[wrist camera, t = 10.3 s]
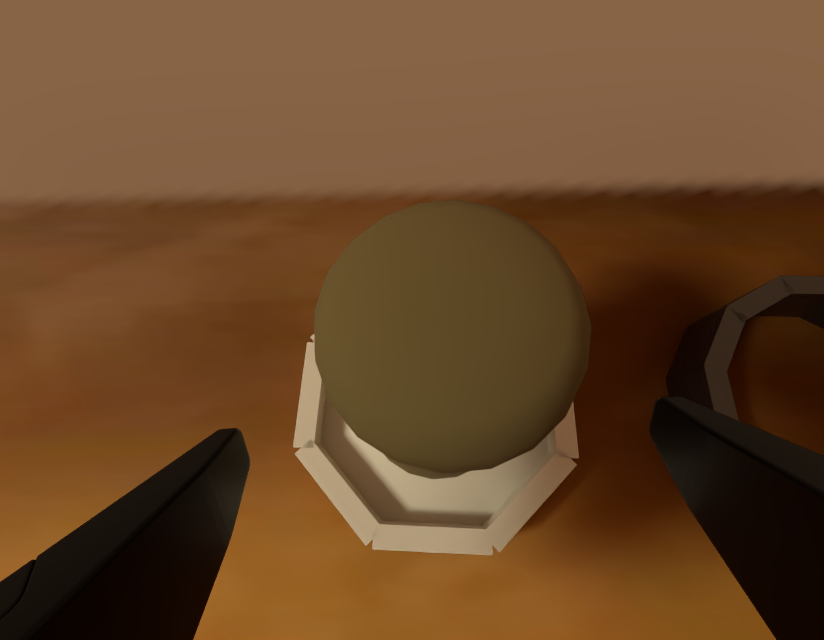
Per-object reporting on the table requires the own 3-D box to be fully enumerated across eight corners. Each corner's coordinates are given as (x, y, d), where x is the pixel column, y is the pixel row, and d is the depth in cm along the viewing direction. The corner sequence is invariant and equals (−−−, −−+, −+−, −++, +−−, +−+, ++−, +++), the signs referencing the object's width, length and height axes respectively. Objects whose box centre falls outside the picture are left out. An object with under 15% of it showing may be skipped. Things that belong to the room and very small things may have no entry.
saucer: (577, 555, 15) (596, 567, 13) (289, 541, 16) (273, 550, 14) (552, 289, 19) (564, 272, 17) (322, 285, 19) (312, 268, 18)
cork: (425, 307, 18) (425, 95, 8) (537, 392, 16) (726, 271, 6) (334, 411, 16) (181, 323, 6) (448, 514, 15) (499, 627, 5)
